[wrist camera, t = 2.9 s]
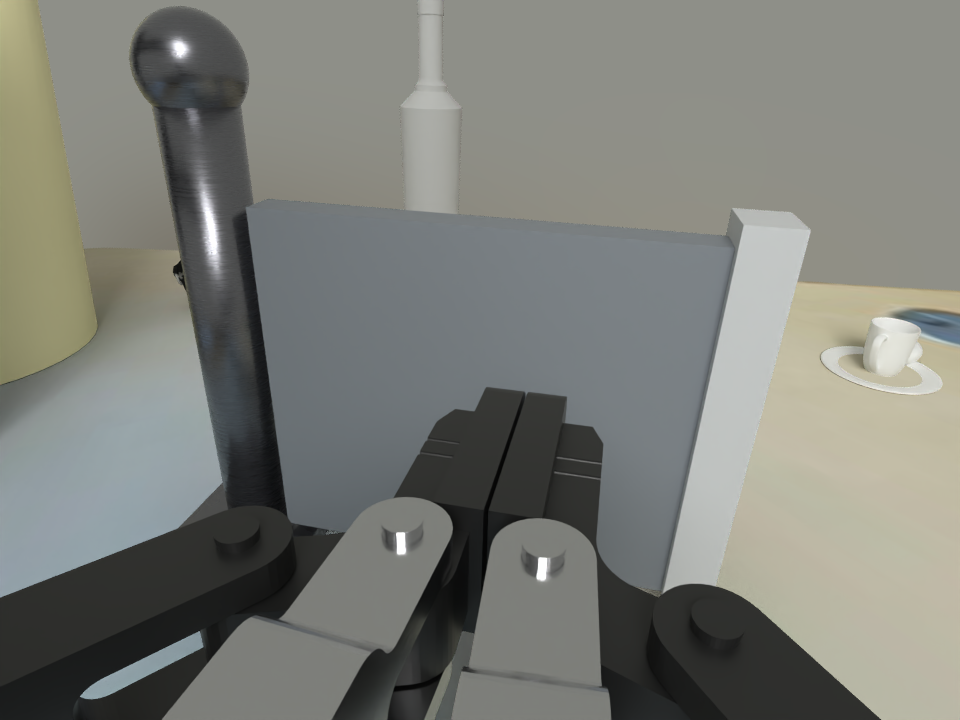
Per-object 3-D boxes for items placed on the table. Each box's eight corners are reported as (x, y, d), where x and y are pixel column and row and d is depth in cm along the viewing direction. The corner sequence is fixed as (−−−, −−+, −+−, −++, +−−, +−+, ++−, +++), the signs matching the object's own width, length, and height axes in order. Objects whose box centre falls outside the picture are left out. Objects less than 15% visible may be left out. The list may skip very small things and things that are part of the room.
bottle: (453, 307, 55) (457, -17, 44) (397, 303, 56) (388, -18, 45) (464, 289, 60) (469, -9, 49) (412, 284, 61) (406, -10, 50)
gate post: (165, 558, 27) (20, -5, 18) (241, 477, 32) (162, 11, 23) (291, 584, 26) (208, -2, 16) (349, 496, 31) (311, 15, 22)
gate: (283, 529, 27) (235, 185, 21) (308, 495, 29) (271, 174, 23) (709, 608, 24) (811, 229, 17) (703, 564, 26) (791, 212, 19)
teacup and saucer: (881, 346, 51) (897, 301, 50) (975, 392, 44) (997, 340, 43) (796, 357, 49) (809, 309, 47) (880, 406, 42) (900, 352, 40)
